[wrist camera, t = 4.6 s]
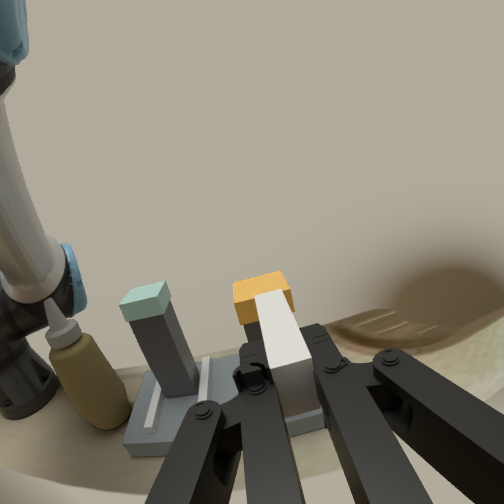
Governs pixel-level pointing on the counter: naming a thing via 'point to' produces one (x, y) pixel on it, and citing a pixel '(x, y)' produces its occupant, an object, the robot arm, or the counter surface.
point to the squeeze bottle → (85, 372)
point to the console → (174, 408)
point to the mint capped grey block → (161, 338)
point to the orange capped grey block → (246, 300)
